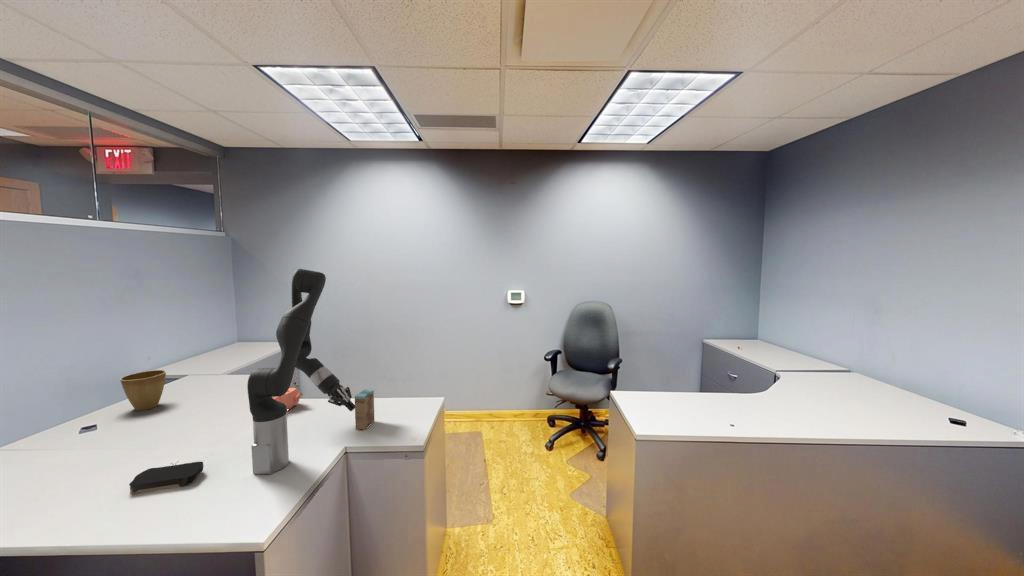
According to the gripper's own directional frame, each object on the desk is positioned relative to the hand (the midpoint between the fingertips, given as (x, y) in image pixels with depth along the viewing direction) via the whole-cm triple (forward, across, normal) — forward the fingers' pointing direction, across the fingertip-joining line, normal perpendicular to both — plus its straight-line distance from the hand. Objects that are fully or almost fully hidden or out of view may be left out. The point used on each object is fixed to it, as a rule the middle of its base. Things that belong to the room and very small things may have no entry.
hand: (353, 409), depth 145 cm
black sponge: (-21, -41, +32) cm, 56 cm away
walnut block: (+8, 0, +1) cm, 8 cm away
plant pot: (-72, +10, +82) cm, 110 cm away
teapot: (-24, +14, +34) cm, 44 cm away
